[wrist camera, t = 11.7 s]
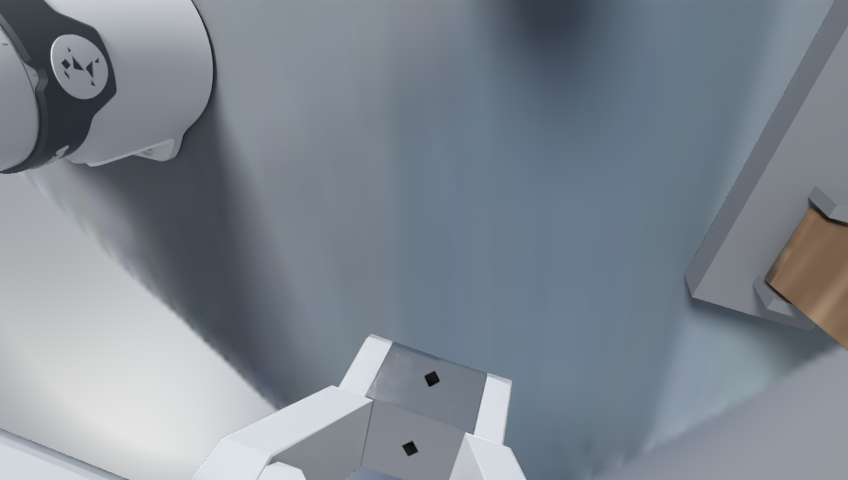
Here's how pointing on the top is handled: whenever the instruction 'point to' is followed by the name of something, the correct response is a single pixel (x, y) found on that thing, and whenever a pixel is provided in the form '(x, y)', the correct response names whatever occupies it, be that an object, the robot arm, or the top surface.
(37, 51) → the robot arm
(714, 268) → the plinth
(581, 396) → the top surface
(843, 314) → the walnut lever
